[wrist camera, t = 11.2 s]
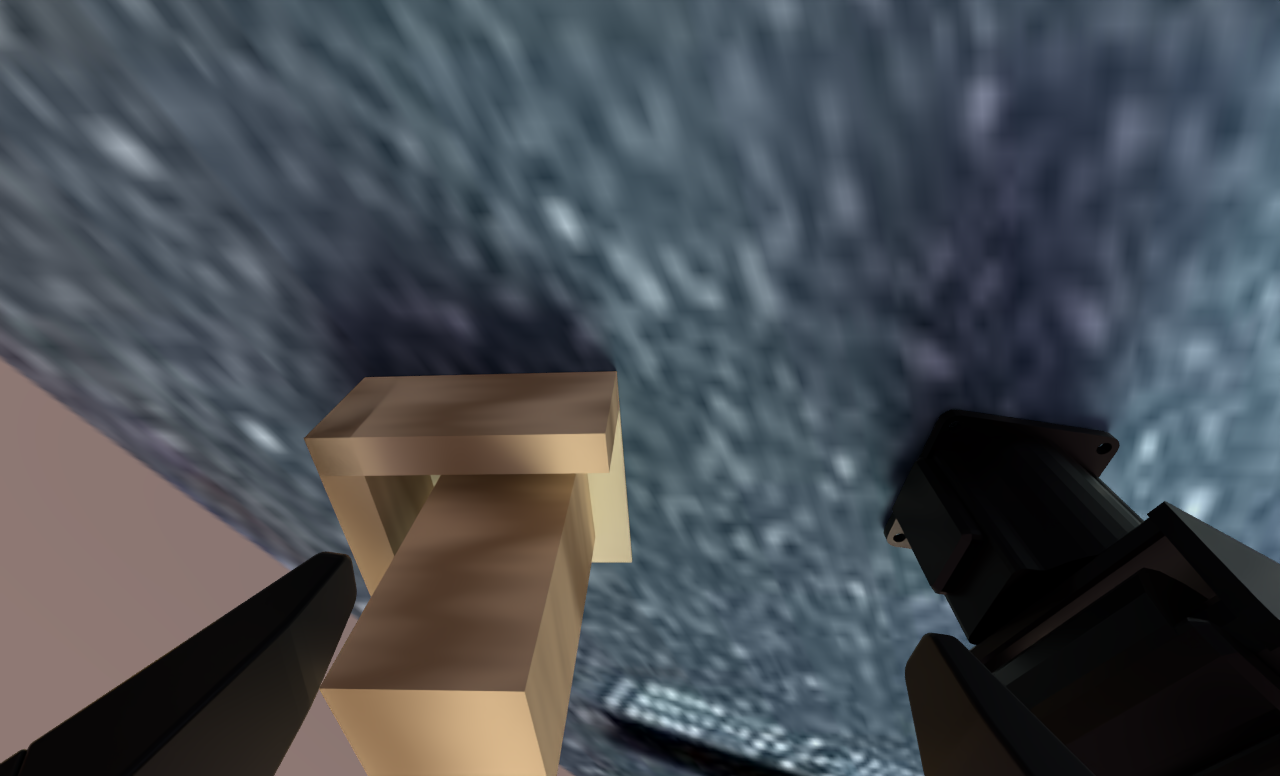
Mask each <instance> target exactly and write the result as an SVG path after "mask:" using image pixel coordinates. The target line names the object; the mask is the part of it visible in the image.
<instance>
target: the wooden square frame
mask: <svg viewBox="0 0 1280 776" xmlns="http://www.w3.org/2000/svg"><path fill="white" fill-rule="evenodd" d="M304 440H305V442H306V445H307V447H308V449H309V452H310V454H311V456H312V459H313V461H314V464H315V466H316V468H317V471H318V473H319V475H320V478H321V480H322V482H323V485H324V487H325V489H326V492H327V494H328V496H329V499H330V501H331V504H332V506H333V508H334V511H335V513H336V515H337V518H338V520H339V522H340V525H341V527H342V529H343V532H344V534H345V537H346V539H347V541H348V544H349V546H350V548H351V551H352V553H353V555H354V558H355V560H356V562H357V565H358V567H359V569H360V572H361V574H362V577H363V579H364V581H365V584H366V586H367V588H368V591H369V593H370V595H371V597H372V595H373V593H374V591H375V590H376V588H377V586H378V584H379V583H380V581H381V579H382V577H383V576H384V574H385V572H386V570H387V569H388V567H389V565H390V563H391V562H392V560H393V558H394V556H395V555H396V553H397V551H398V549H399V548H400V546H401V544H402V542H403V541H404V539H405V537H406V535H407V534H408V532H409V530H410V528H411V527H412V525H413V523H414V521H415V520H416V518H417V516H418V514H419V513H420V511H421V509H422V507H423V506H424V504H425V502H426V500H427V499H428V497H429V495H430V493H431V492H432V490H433V488H434V486H435V485H436V483H437V481H438V479H439V478H440V476H441V475H475V474H565V473H587V475H588V483H589V490H590V498H591V506H592V514H593V522H594V530H595V544H594V550H593V556H592V562H632V551H631V539H630V527H629V515H628V503H627V491H626V479H625V467H624V455H623V443H622V430H621V418H620V406H619V394H618V382H617V371H608V372H566V373H524V374H482V375H440V376H398V377H365V378H364V379H363V380H362V381H361V382H360V383H359V384H358V385H357V386H356V387H355V388H354V389H353V390H352V391H351V392H350V393H349V394H348V395H347V396H346V397H345V398H344V399H343V400H342V401H341V402H340V403H339V404H338V405H337V406H336V407H335V408H334V409H333V410H332V411H331V412H330V413H329V414H328V415H327V416H326V417H325V418H324V419H323V420H322V421H321V422H320V423H319V424H318V425H317V426H316V427H315V428H314V429H313V430H312V431H311V432H310V433H309V434H308V435H307V436H306V437H305V438H304Z"/></svg>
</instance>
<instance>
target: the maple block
mask: <svg viewBox="0 0 1280 776" xmlns="http://www.w3.org/2000/svg"><path fill="white" fill-rule="evenodd" d="M594 544H595V530H594V522H593V514H592V506H591V498H590V490H589V483H588V475H587V473H565V474H475V475H441V476H440V478H439V479H438V481H437V483H436V485H435V486H434V488H433V490H432V492H431V493H430V495H429V497H428V499H427V500H426V502H425V504H424V506H423V507H422V509H421V511H420V513H419V514H418V516H417V518H416V520H415V521H414V523H413V525H412V527H411V528H410V530H409V532H408V534H407V535H406V537H405V539H404V541H403V542H402V544H401V546H400V548H399V549H398V551H397V553H396V555H395V556H394V558H393V560H392V562H391V563H390V565H389V567H388V569H387V570H386V572H385V574H384V576H383V577H382V579H381V581H380V583H379V584H378V586H377V588H376V590H375V591H374V593H373V595H372V597H371V598H370V600H369V602H368V604H367V605H366V607H365V609H364V611H363V612H362V614H361V616H360V618H359V620H358V621H357V623H356V625H355V627H354V628H353V630H352V632H351V634H350V635H349V637H348V639H347V641H346V642H345V644H344V646H343V648H342V649H341V651H340V653H339V655H338V657H337V658H336V660H335V662H334V663H333V665H332V667H331V669H330V670H329V672H328V674H327V676H326V677H325V679H324V681H323V683H322V684H321V686H320V688H319V689H320V691H321V693H322V695H323V697H324V698H325V700H326V702H327V704H328V705H329V707H330V709H331V711H332V713H333V714H334V716H335V718H336V720H337V721H338V723H339V725H340V727H341V729H342V730H343V732H344V734H345V736H346V737H347V739H348V741H349V743H350V745H351V746H352V748H353V750H354V752H355V754H356V755H357V757H358V759H359V761H360V762H361V764H362V766H363V768H364V769H365V771H366V773H367V775H368V776H557V771H558V765H559V759H560V753H561V746H562V740H563V734H564V728H565V722H566V716H567V710H568V703H569V697H570V691H571V685H572V679H573V673H574V667H575V660H576V654H577V648H578V642H579V636H580V630H581V623H582V617H583V611H584V605H585V599H586V593H587V587H588V580H589V574H590V568H591V562H592V556H593V550H594Z"/></svg>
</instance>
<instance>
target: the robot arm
mask: <svg viewBox="0 0 1280 776" xmlns="http://www.w3.org/2000/svg"><path fill="white" fill-rule="evenodd" d="M955 421H958V423H957V424H956V425H954V426H952V427H949V426H950V425H951V423H953V422H955ZM1101 444H1102V445H1101ZM1100 445H1101V446H1100ZM1099 446H1100V447H1099ZM1118 448H1119V441H1118V440H1117V439H1116V438H1114V437H1113V436H1112V435H1111V434H1110V433H1108V432H1105V431H1099V430H1093V429H1086V428H1079V427H1072V426H1066V425H1059V424H1052V423H1045V422H1038V421H1032V420H1025V419H1018V418H1011V417H1005V416H998V415H991V414H984V413H977V412H971V411H964V410H949V411H946V412H945V413H943V414H942V415H941V416H940V417H939V418H938V420H937V422H936V424H935V426H934V428H933V430H932V432H931V435H930V437H929V439H928V441H927V443H926V445H925V447H924V449H923V451H922V453H921V455H920V457H919V459H918V460H917V461H916V462H915V463H914V465H913V467H912V469H911V471H910V473H909V475H908V477H907V479H906V481H905V483H904V485H903V487H902V489H901V492H900V494H899V496H898V498H897V500H896V502H895V504H894V506H893V508H892V510H893V512H892V514H891V517H890V519H889V521H888V523H887V525H886V527H885V529H884V535H885V537H886V539H887V542H888V543H889V544H890V545H892V546H895V547H902V548H909V549H912V550H913V552H914V554H915V556H916V558H917V560H918V562H919V564H920V566H921V568H922V570H923V572H924V574H925V576H926V578H927V580H928V582H929V584H930V586H931V587H932V589H933V590H934V591H935V593H937V594H944V595H945V597H946V599H947V601H948V603H949V605H950V607H951V608H952V610H953V612H954V614H955V616H956V618H957V620H958V622H959V624H960V626H961V628H962V630H963V631H964V633H965V635H966V637H967V639H968V641H969V642H970V643H971V644H974V645H976V646H974V647H973V648H972V649H970V650H968V649H967V648H966V647H965V646H964V645H963V644H962V643H961V642H960V641H959V640H958V639H956V638H955V637H953V636H950V635H944V634H937V633H927V634H925V635H924V636H923V637H922V638H921V640H920V642H919V643H918V645H917V647H916V648H915V650H914V651H913V653H912V655H911V656H910V658H909V660H908V661H907V664H906V667H905V680H906V686H907V691H908V696H909V701H910V706H911V711H912V716H913V721H914V726H915V731H916V736H917V741H918V746H919V751H920V756H921V761H922V766H923V771H924V775H925V776H1280V564H1279V563H1277V562H1275V561H1274V560H1272V559H1270V558H1268V557H1266V556H1265V555H1263V554H1261V553H1259V552H1257V551H1255V550H1254V549H1252V548H1250V547H1248V546H1246V545H1244V544H1243V543H1241V542H1239V541H1237V540H1235V539H1234V538H1232V537H1230V536H1228V535H1226V534H1224V533H1223V532H1221V531H1219V530H1217V529H1215V528H1213V527H1212V526H1210V525H1208V524H1206V523H1204V522H1203V521H1201V520H1199V519H1197V518H1195V517H1193V516H1192V515H1190V514H1188V513H1186V512H1184V511H1182V510H1181V509H1179V508H1177V507H1175V506H1173V505H1172V504H1170V503H1168V502H1166V501H1164V502H1163V503H1161V504H1160V505H1159V506H1157V507H1156V508H1155V509H1153V510H1152V511H1150V512H1149V513H1148V514H1147V515H1148V516H1149V518H1148V519H1146V520H1145V521H1144V520H1142V519H1141V518H1140V517H1139V516H1138V515H1137V514H1136V513H1135V512H1134V511H1133V510H1132V509H1131V508H1130V507H1129V506H1128V505H1127V504H1126V503H1125V502H1124V501H1123V500H1121V499H1120V498H1119V497H1118V496H1117V495H1116V494H1115V493H1114V492H1113V491H1112V490H1111V489H1110V488H1109V487H1108V486H1107V485H1106V484H1105V483H1104V482H1103V481H1102V480H1100V479H1099V476H1100V475H1101V473H1102V472H1103V471H1104V469H1105V468H1106V466H1107V465H1108V463H1109V462H1110V461H1111V459H1112V458H1113V456H1114V455H1115V454H1116V452H1117V451H1118ZM898 533H901V534H899V535H896V534H898ZM356 594H357V589H356V583H355V577H354V571H353V565H352V560H351V558H350V557H349V556H348V555H346V554H341V553H334V552H321V553H318V554H316V555H314V556H313V557H311V558H310V559H308V560H307V561H305V562H304V563H302V564H301V565H299V566H298V567H296V568H295V569H293V570H292V571H290V572H289V573H287V574H286V575H284V576H283V577H281V578H280V579H278V580H277V581H275V582H274V583H272V584H271V585H269V586H268V587H266V588H265V589H263V590H262V591H260V592H259V593H257V594H256V595H254V596H253V597H251V598H250V599H248V600H247V601H245V602H244V603H242V604H240V605H239V606H238V607H236V608H234V609H233V610H231V611H230V612H228V613H227V614H225V615H224V616H223V617H221V618H219V619H218V620H216V621H215V622H213V623H212V624H210V625H209V626H207V627H206V628H204V629H203V630H202V631H200V632H199V633H197V634H196V635H194V636H193V637H191V638H189V639H188V640H187V641H185V642H183V643H182V644H180V645H179V646H177V647H176V648H174V649H173V650H171V651H170V652H168V653H167V654H165V655H164V656H162V657H161V658H159V659H158V660H156V661H155V662H153V663H151V664H150V665H148V666H147V667H146V668H144V669H142V670H141V671H139V672H138V673H136V674H135V675H133V676H132V677H131V678H129V679H127V680H126V681H125V682H123V683H122V684H120V685H118V686H117V687H115V688H114V689H112V690H111V691H109V692H108V693H106V694H105V695H103V696H102V697H100V698H99V699H97V700H96V701H94V702H93V703H91V704H90V705H88V706H87V707H85V708H84V709H82V710H81V711H79V712H78V713H76V714H75V715H73V716H72V717H70V718H69V719H67V720H65V721H64V722H62V723H61V724H60V725H58V726H56V727H55V728H53V729H52V730H50V731H49V732H47V733H46V734H44V735H43V736H41V737H40V738H38V739H37V740H35V741H34V742H32V743H31V744H30V746H29V747H28V749H27V750H26V749H23V750H20V751H18V752H17V753H15V754H14V755H12V756H11V757H9V758H8V759H6V760H5V761H3V762H2V763H0V776H274V775H275V773H276V771H277V769H278V767H279V766H280V764H281V762H282V760H283V758H284V756H285V754H286V753H287V751H288V749H289V747H290V745H291V743H292V742H293V740H294V738H295V736H296V734H297V732H298V731H299V729H300V727H301V725H302V723H303V721H304V719H305V717H306V715H307V713H308V711H309V710H310V707H311V706H312V703H313V701H314V699H315V697H316V694H317V692H318V690H319V688H320V685H321V683H322V680H323V678H324V676H325V673H326V671H327V668H328V666H329V664H330V661H331V659H332V657H333V654H334V652H335V650H336V647H337V645H338V642H339V640H340V638H341V635H342V633H343V630H344V628H345V626H346V623H347V621H348V618H349V616H350V614H351V612H352V609H353V607H354V604H355V600H356Z"/></svg>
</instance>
